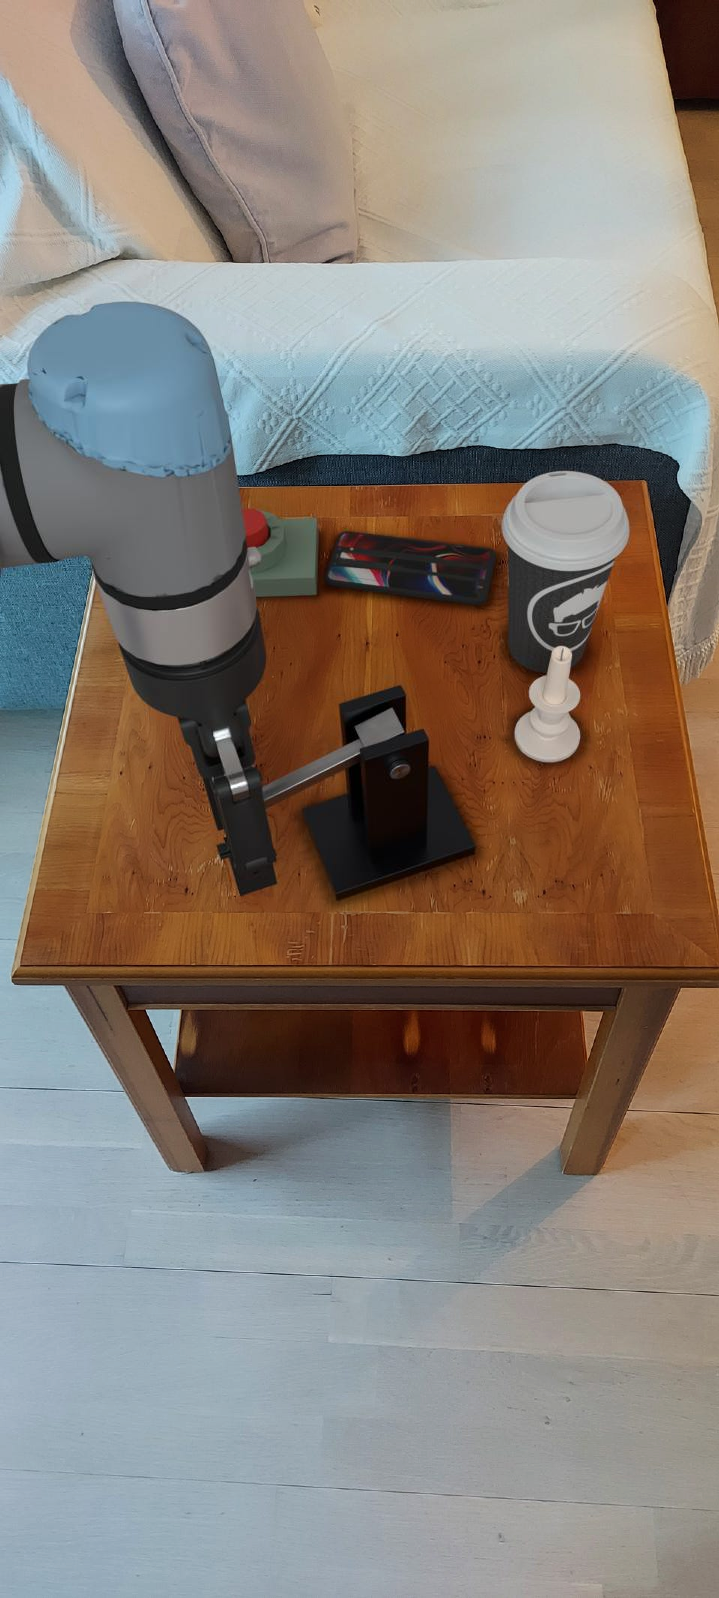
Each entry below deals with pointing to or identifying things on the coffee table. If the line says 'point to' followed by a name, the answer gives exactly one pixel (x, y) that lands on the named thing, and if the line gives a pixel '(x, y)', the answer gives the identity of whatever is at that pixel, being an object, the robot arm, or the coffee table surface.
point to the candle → (551, 713)
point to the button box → (287, 558)
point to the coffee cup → (559, 562)
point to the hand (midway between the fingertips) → (245, 852)
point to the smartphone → (411, 567)
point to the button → (255, 527)
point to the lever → (334, 759)
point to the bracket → (386, 808)
